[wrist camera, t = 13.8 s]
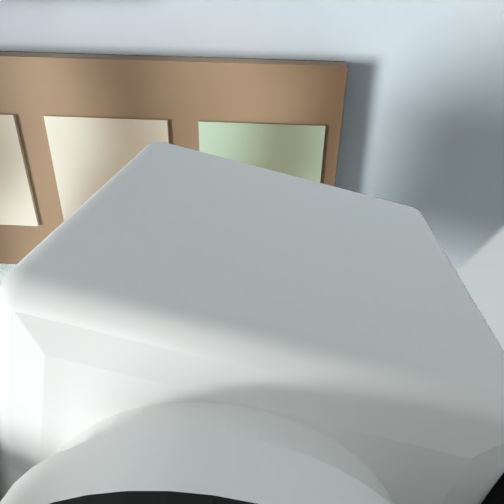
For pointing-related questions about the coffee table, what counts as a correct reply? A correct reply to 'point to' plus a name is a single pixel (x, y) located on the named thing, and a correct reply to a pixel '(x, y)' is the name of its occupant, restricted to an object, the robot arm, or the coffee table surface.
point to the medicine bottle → (243, 349)
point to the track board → (150, 124)
